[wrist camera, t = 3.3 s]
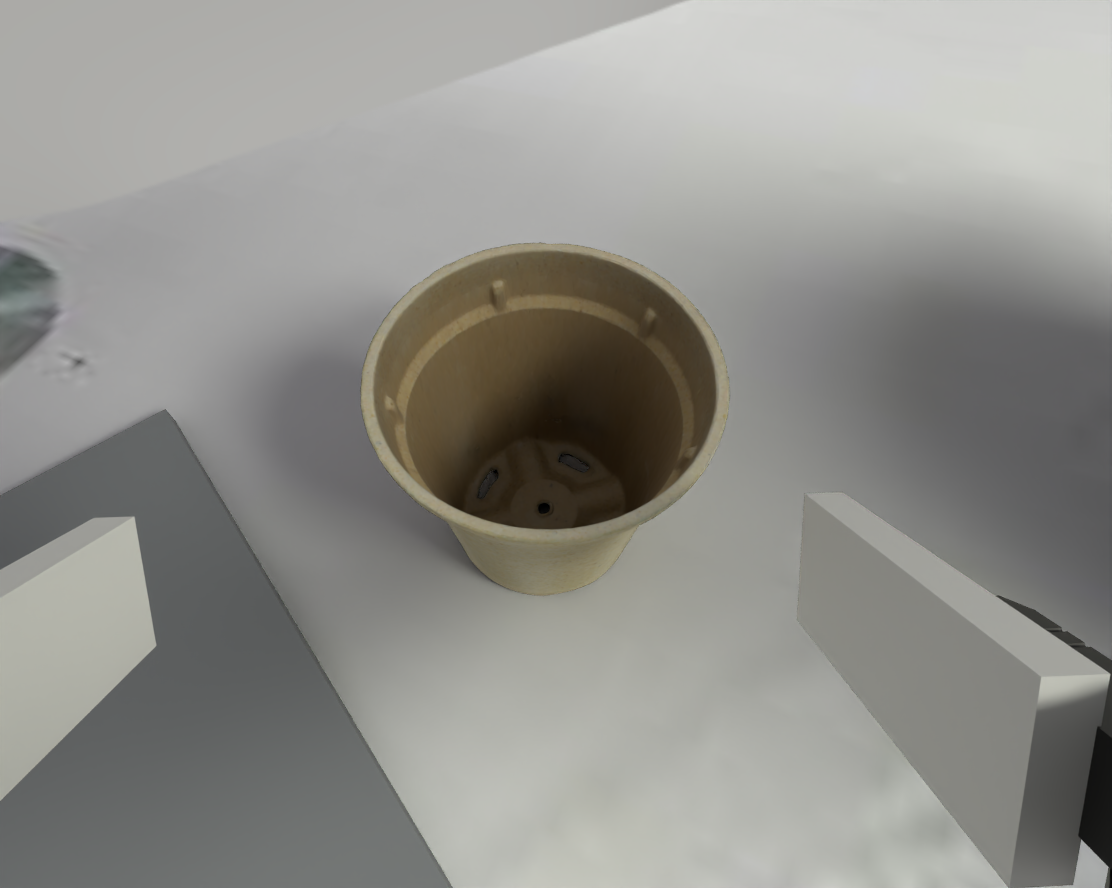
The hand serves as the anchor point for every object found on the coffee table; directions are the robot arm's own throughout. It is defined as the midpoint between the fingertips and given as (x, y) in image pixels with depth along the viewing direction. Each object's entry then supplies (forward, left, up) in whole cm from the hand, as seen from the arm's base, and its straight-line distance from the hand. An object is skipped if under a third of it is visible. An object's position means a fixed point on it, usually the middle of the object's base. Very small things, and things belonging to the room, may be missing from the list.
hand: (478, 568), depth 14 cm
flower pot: (+4, -5, -10) cm, 12 cm away
